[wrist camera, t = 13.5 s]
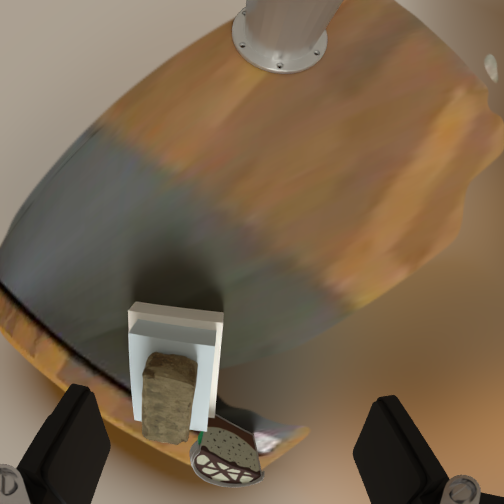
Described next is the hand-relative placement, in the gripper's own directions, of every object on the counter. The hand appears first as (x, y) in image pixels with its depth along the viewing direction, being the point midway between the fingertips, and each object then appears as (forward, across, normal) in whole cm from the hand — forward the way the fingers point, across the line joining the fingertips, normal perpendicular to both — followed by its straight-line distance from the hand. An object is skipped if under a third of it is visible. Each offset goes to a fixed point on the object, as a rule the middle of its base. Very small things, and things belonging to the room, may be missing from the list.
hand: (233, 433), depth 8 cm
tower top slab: (+26, +7, +17) cm, 32 cm away
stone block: (+22, +7, +17) cm, 29 cm away
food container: (+29, +1, +32) cm, 43 cm away
